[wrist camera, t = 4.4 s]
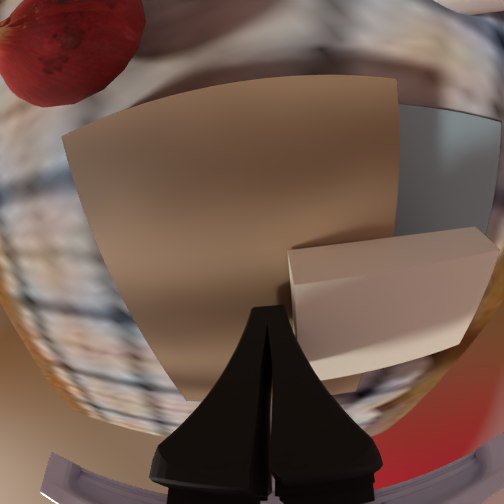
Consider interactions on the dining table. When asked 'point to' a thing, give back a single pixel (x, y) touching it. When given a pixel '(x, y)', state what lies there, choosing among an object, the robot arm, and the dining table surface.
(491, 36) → the dining table surface
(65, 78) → the onion
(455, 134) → the mat
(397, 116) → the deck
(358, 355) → the tan tilted rectangular prism
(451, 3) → the base with upright slab
